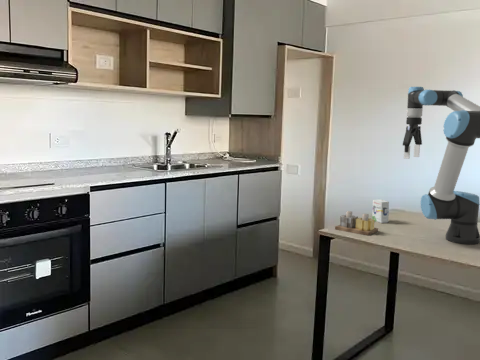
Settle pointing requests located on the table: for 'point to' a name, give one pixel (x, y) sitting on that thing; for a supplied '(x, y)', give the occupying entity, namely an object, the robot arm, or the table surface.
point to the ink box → (380, 211)
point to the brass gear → (365, 224)
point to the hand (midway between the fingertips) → (411, 157)
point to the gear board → (353, 224)
